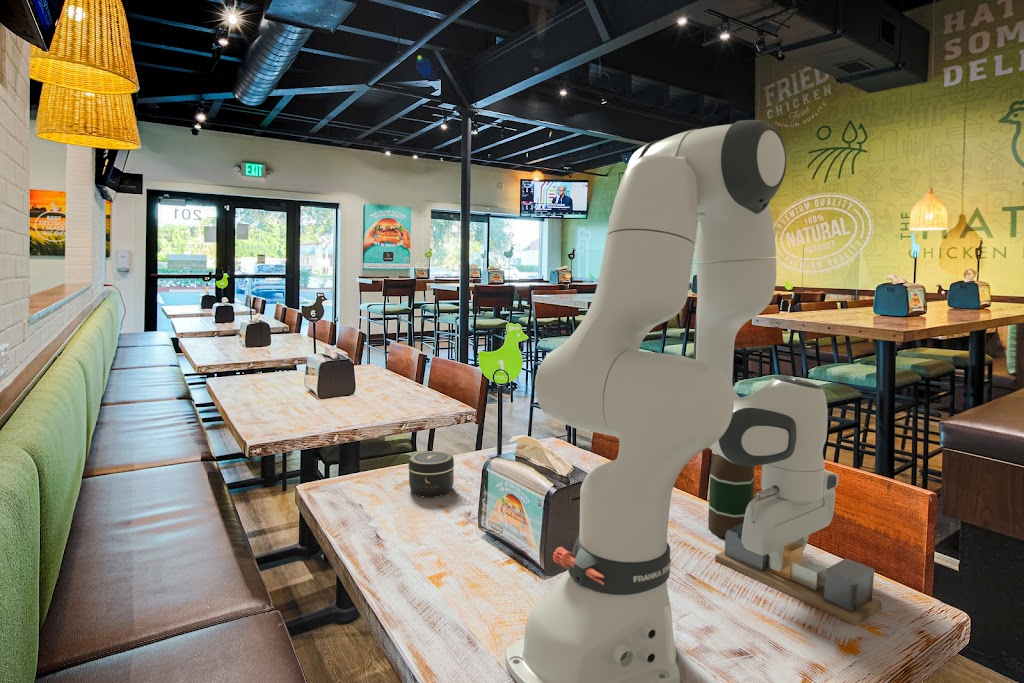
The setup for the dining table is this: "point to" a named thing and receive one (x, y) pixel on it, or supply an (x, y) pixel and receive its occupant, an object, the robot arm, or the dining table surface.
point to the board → (802, 591)
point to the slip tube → (800, 567)
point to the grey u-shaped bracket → (742, 550)
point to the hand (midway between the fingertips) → (786, 564)
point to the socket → (849, 585)
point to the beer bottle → (728, 494)
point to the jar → (431, 473)
